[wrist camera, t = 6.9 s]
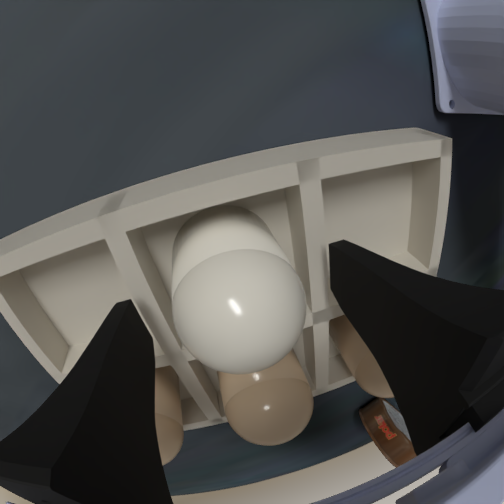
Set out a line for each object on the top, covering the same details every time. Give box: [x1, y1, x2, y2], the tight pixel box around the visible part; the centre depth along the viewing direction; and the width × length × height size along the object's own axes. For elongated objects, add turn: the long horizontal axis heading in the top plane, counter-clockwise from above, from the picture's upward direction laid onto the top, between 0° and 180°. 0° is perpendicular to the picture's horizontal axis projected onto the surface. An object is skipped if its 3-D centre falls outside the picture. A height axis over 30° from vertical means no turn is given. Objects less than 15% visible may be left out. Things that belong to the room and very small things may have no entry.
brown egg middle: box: [217, 349, 314, 446], centre depth 14 cm, size 4×4×6 cm
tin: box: [359, 397, 417, 468], centre depth 24 cm, size 15×3×8 cm, turn 38°
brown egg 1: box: [155, 365, 184, 465], centre depth 13 cm, size 4×4×6 cm
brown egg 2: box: [329, 314, 394, 398], centre depth 15 cm, size 4×4×6 cm
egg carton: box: [0, 127, 452, 431], centre depth 14 cm, size 21×14×3 cm
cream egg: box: [172, 205, 306, 374], centre depth 10 cm, size 4×4×6 cm
